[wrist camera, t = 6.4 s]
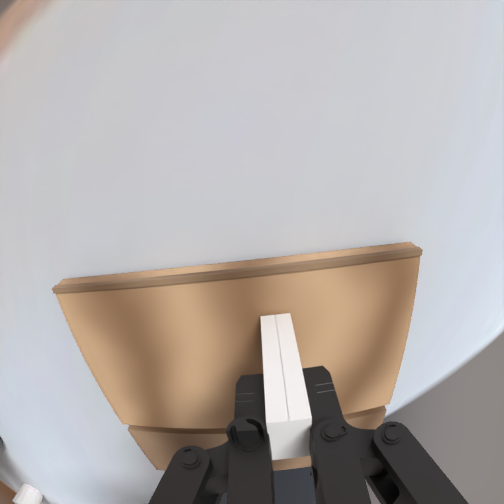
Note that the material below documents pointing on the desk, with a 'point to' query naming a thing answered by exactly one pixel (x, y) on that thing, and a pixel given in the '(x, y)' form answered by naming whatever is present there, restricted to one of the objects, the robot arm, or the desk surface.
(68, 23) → the desk surface
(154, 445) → the laid board
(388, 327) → the plank
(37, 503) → the white cup
